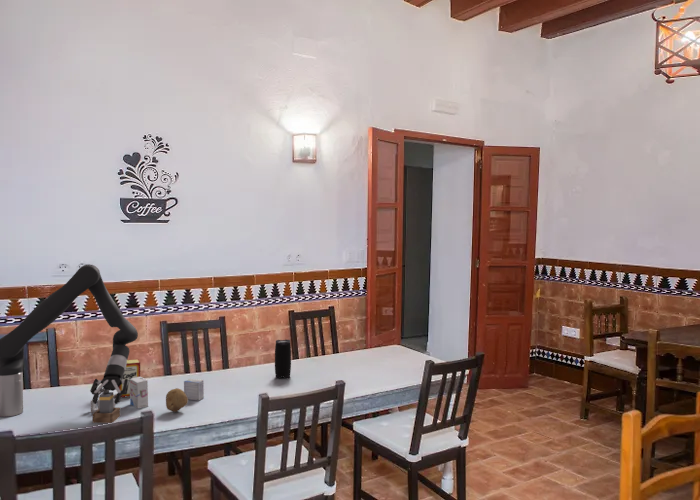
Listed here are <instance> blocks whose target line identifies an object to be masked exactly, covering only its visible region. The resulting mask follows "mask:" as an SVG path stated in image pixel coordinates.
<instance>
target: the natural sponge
mask: <svg viewBox="0 0 700 500" xmlns="http://www.w3.org/2000/svg"><path fill="white" fill-rule="evenodd" d="M188 401H189V400H188V398H187V396H186V394H185V393H184V390H183V389H180V388H178V387H177V388H176V387H175V388H172V389H170V390H169V391H168V392H167V393H166V395H165V406H166V407H165V408H166V409H167V410H168V411H171V412H172V413H176V412H179V411H180V410H181V409H182V408H184V407H186V406H187V405H188Z"/></svg>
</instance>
